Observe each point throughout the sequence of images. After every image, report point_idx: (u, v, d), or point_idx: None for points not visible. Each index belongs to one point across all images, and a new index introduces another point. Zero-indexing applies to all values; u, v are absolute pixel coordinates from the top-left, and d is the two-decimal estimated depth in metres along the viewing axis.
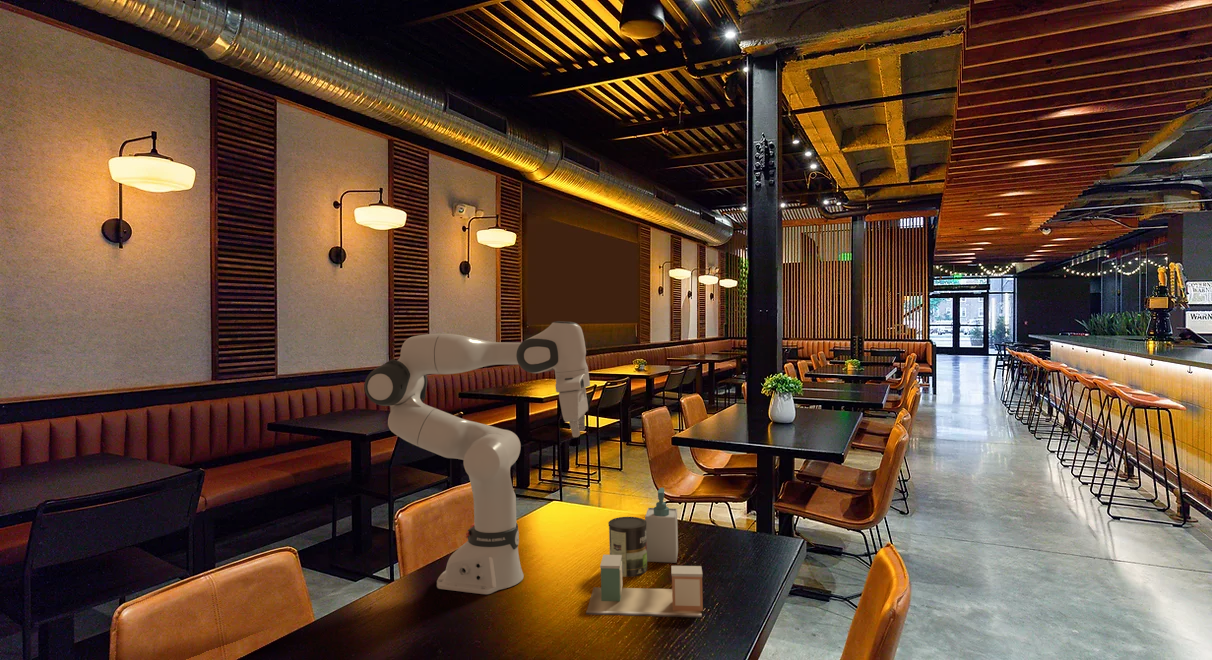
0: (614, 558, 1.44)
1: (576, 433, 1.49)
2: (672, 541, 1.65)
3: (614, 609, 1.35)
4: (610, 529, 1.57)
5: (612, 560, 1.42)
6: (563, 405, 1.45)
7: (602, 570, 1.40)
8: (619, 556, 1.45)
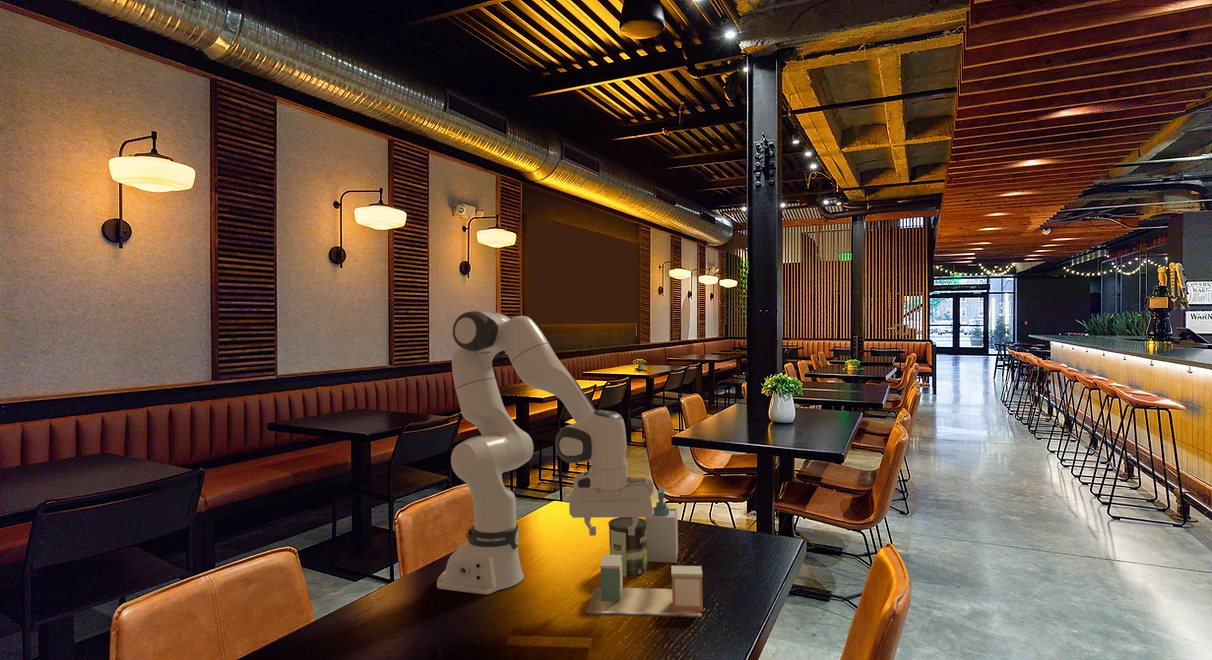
0: (614, 558, 1.44)
1: None
2: (672, 541, 1.65)
3: (614, 609, 1.35)
4: (610, 529, 1.57)
5: (612, 560, 1.42)
6: None
7: (602, 570, 1.40)
8: (619, 556, 1.45)
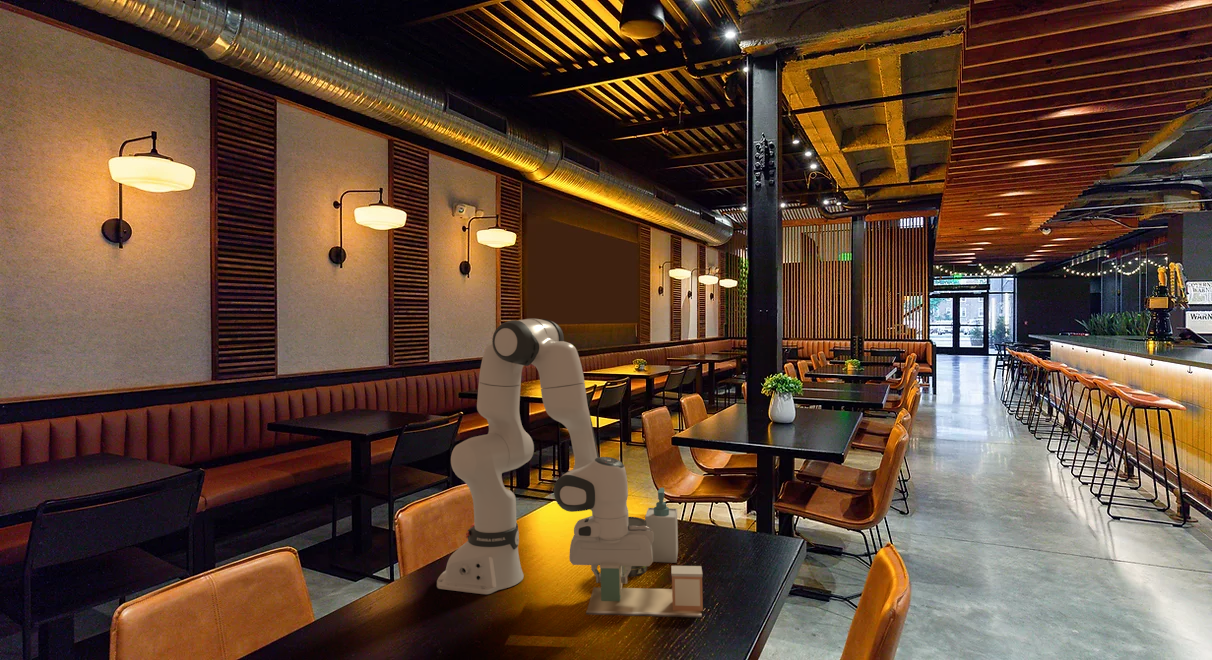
0: None
1: (596, 578, 1.43)
2: (672, 541, 1.65)
3: (614, 609, 1.35)
4: None
5: None
6: None
7: (602, 570, 1.40)
8: None
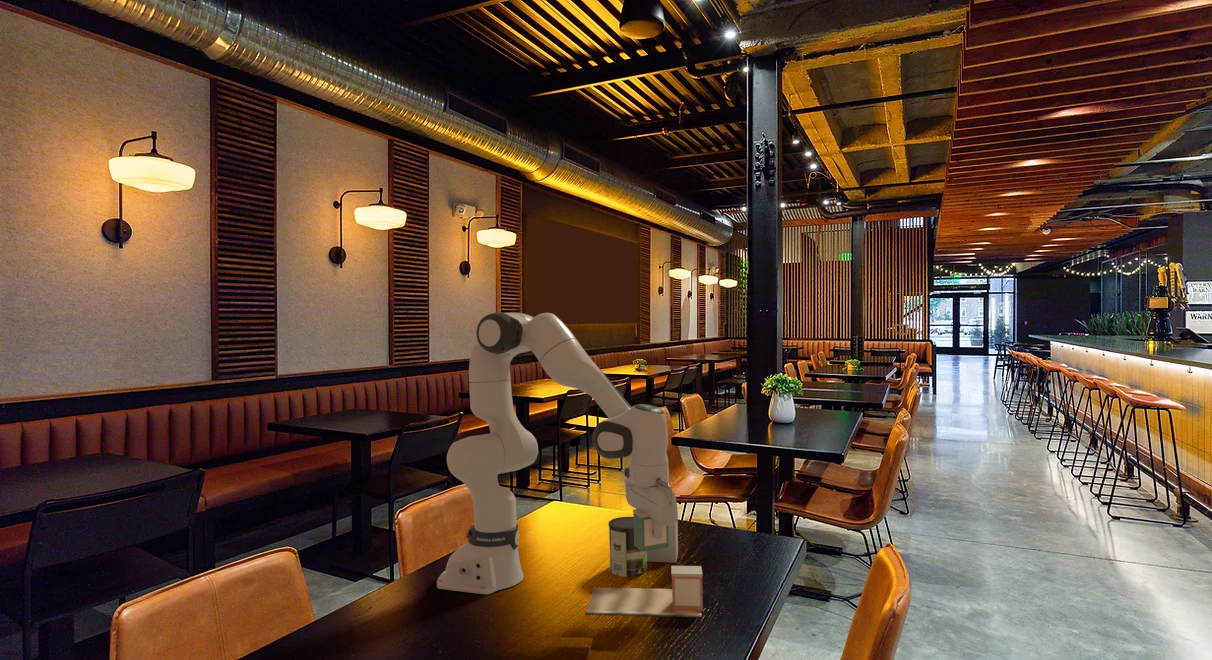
0: None
1: None
2: (672, 541, 1.65)
3: (614, 609, 1.35)
4: (610, 529, 1.57)
5: None
6: None
7: (634, 515, 1.38)
8: None
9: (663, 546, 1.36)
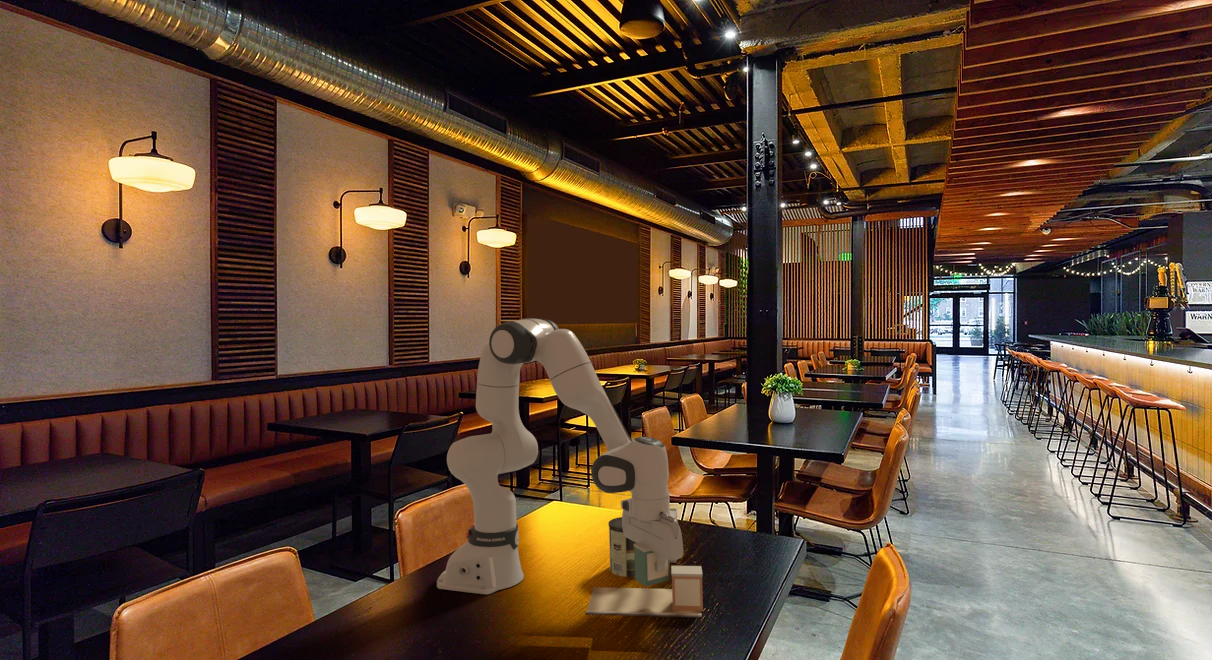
0: None
1: None
2: None
3: (614, 609, 1.35)
4: (610, 529, 1.57)
5: None
6: None
7: (635, 549, 1.37)
8: None
9: (665, 579, 1.36)
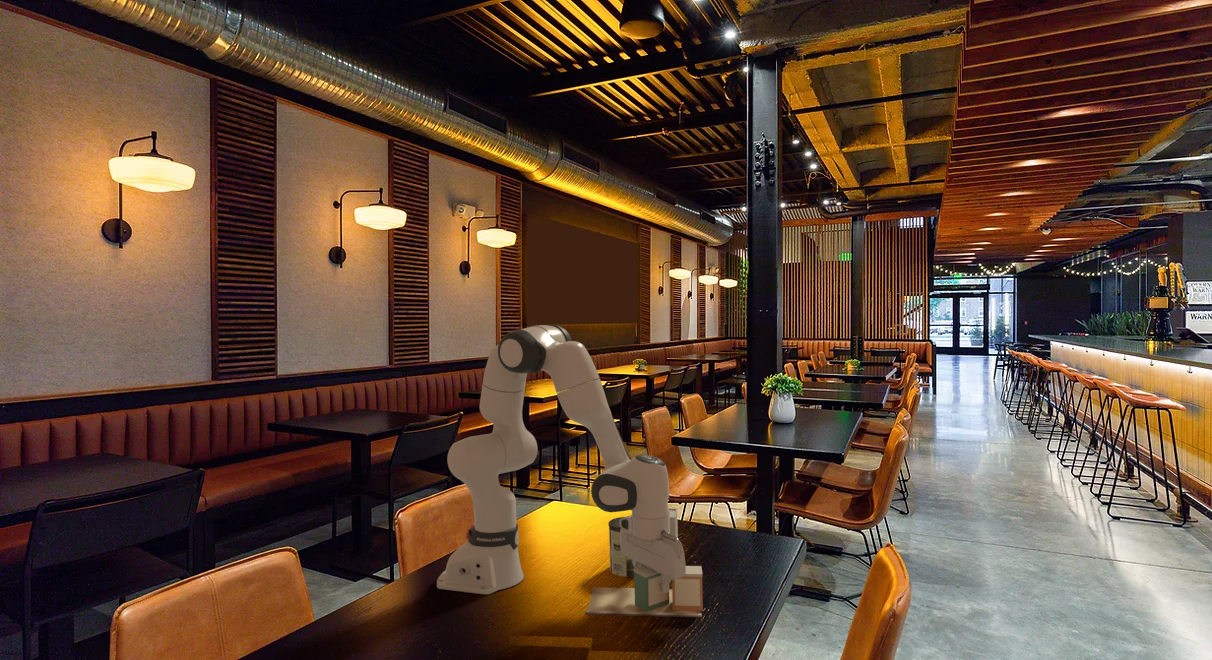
0: None
1: None
2: None
3: (614, 609, 1.35)
4: (610, 529, 1.57)
5: (650, 569, 1.37)
6: None
7: (635, 574, 1.37)
8: None
9: (664, 603, 1.37)
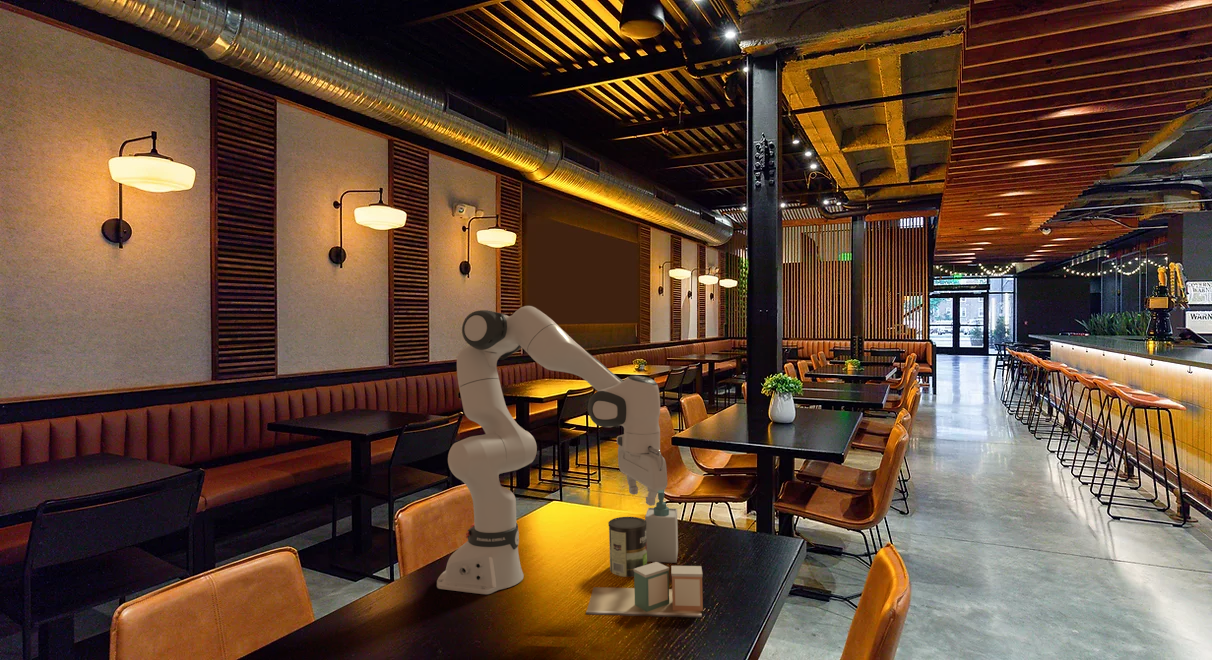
0: (656, 567, 1.37)
1: None
2: (672, 541, 1.65)
3: (614, 609, 1.35)
4: (610, 529, 1.57)
5: (650, 569, 1.37)
6: None
7: (635, 574, 1.37)
8: (664, 568, 1.37)
9: (664, 603, 1.37)
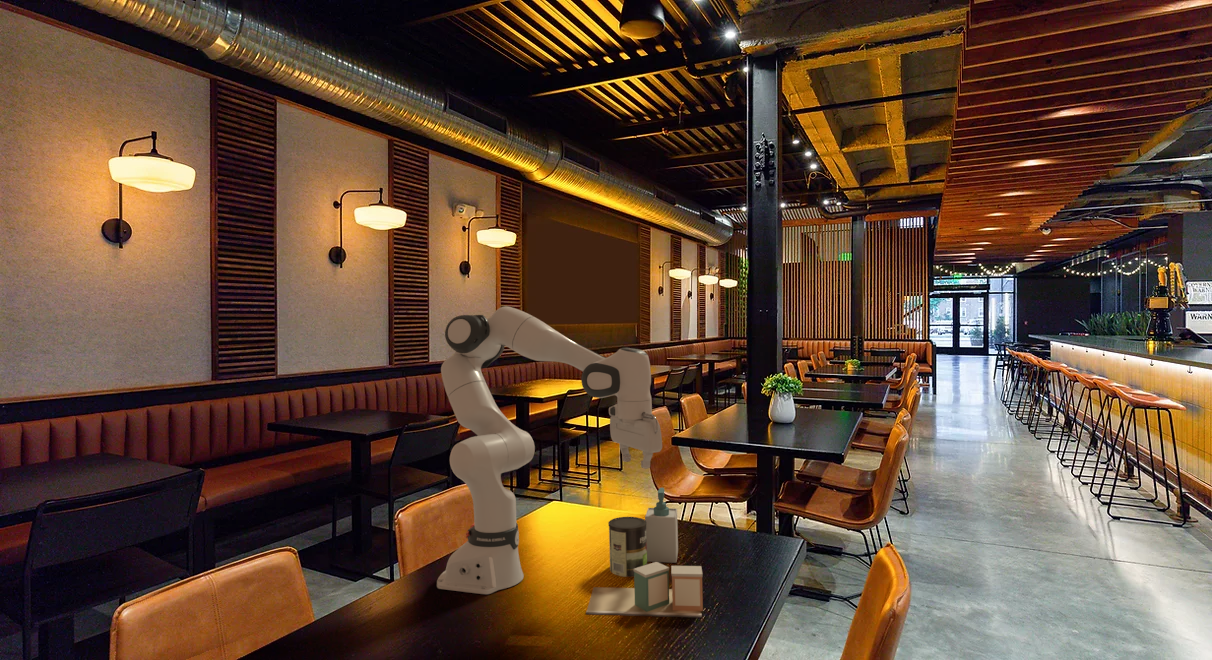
0: (656, 567, 1.37)
1: None
2: (672, 541, 1.65)
3: (614, 609, 1.35)
4: (610, 529, 1.57)
5: (650, 569, 1.37)
6: None
7: (635, 574, 1.37)
8: (664, 568, 1.37)
9: (664, 603, 1.37)
